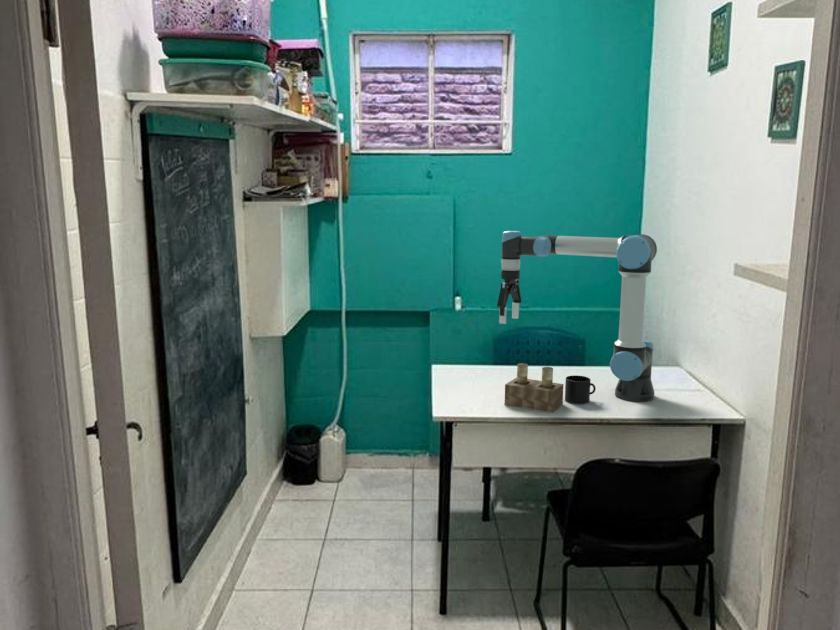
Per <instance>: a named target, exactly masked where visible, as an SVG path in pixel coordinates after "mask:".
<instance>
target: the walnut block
mask: <svg viewBox="0 0 840 630" xmlns="http://www.w3.org/2000/svg"><path fill="white" fill-rule="evenodd" d="M563 401H564V383H558V382H553V383H552V389H549V388H542V380H538V379H537V380H536V379H531V378H530V379H529V378H527V385H522V384H517V377H515V378H514V379H512V380H510V381H508V382H507V383H505V384H504V405H505V406H509V407H510V406H511V407H517V408H522V409H529V410H535V411H542V412H546V413H554V412H555V411H556V410H557V409H559V408H560V407H561V406H562V405H564V404H563V403H564V402H563Z"/></svg>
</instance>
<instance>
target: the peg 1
mask: <svg viewBox="0 0 840 630" xmlns="http://www.w3.org/2000/svg"><path fill="white" fill-rule="evenodd" d="M516 366H517V367H516V378H517V384H522V385H527V379H528V371H529V365H528V363H517V365H516Z"/></svg>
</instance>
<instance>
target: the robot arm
mask: <svg viewBox="0 0 840 630" xmlns="http://www.w3.org/2000/svg"><path fill="white" fill-rule="evenodd" d="M501 237H502V238H501V260H500V263H501V270H500V271H501V272H500V278H501V280H504V282H501V283H500V290H499V294H498V299H497V303H496V308H499V309H498V310H499V313H498V314H499V315H498V316H499V317H498V319H499V320H498V321H499V322H498V323H499V324H500V325H501V324H504V325H506V324H507V307H506V306H507V303H508V300H509V297H510V296H511V300H512V303H511V319H516V320H517V319H519V314H520V313H519V312H520V304H522V294H521V288H520V280H519V279H521V278H520V275H521V274H520V273H521V271H520V269H521V256H531V257H538V258H539V257H548V256H549V255H565V256H566V255H567V256H582V257H583V256H584V257H585V256H586V257H599V258H601V257H604V258H616V259H617V262H618V264H617V265H618V267H617V268H618V269H617V271H618V273H619V274H620V275H621V290H620V306H619V307H620V308H619V324H618V325H619V326H618V338H617V340H615V341H614V342H613V353H612V354H613V355H612V356H611V358H610V362H609V367H610V368H609V369H610V371H611V372H612V374H613V375H614V376H615V377H616V378H617V379H618V382H617V383H616V387H615V389H614V395H615V397H617V398H618V399H621V400H625V401H629V402H630V401H631V402H649V401H648V400H650V401H652V400H651V399H653V398H654V399H655V389H654V385H653V382H652V366H653V355H654V353H653V352H654V344H653V342H652V341H650V340H644V339H643V331H644V318H645V305H646V304H645V301H646V299H645V298H646V286H647V285H646V284H647V277H648V276H649V275H650V274H651V273H652V261H653V260H654V259H655V257H656V255H657V252H658V249H657V248H658V246H657V243H656V241H655V240H654V239H653V238H652V237H651V236H649V235H647V234H644V233H640V234H635V235H622V236H621V237H602V236H601V237H600V236H575V235H574V236H572V235H569V236H568V235H552V234H544V235H539V236H522V232H521V231H519V230H506V231H503V232H502V236H501ZM654 399H653V400H654Z"/></svg>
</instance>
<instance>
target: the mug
mask: <svg viewBox="0 0 840 630" xmlns="http://www.w3.org/2000/svg"><path fill="white" fill-rule="evenodd" d="M591 381H592V380H591V378H590V377H588V376H585V375H575V374H574V375H568V376H566V377H565V383H564V384H565V385H564V386H565V388H564V401H565V402H567V403H570V404H575V405H585V404H588V403H589V402H590V395H593V394H594V393H595V392H596V389H597V388H596V385H595V384H594V383H593V382H591ZM591 386H592V389H593V390H592V391H591Z"/></svg>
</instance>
